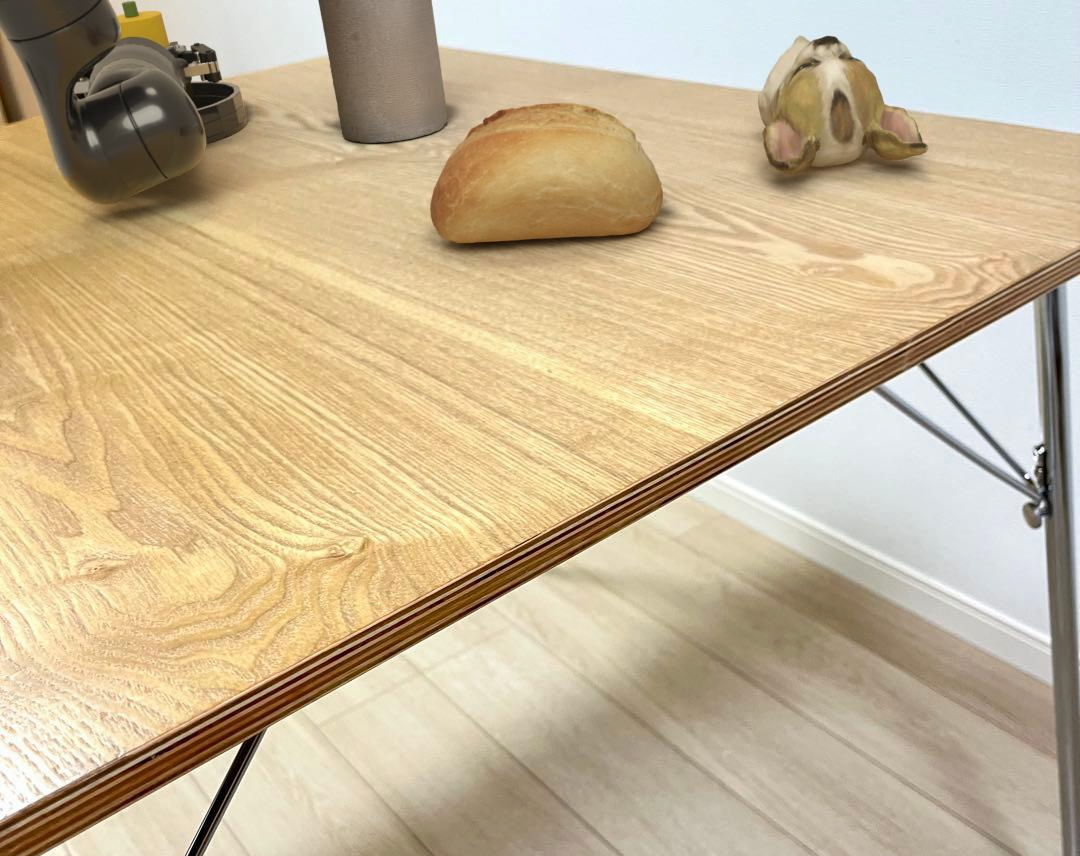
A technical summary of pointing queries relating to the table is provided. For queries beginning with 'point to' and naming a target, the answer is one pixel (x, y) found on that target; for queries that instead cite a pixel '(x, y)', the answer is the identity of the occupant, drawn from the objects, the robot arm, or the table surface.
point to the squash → (142, 24)
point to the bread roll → (546, 178)
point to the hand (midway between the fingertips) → (145, 58)
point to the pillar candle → (384, 68)
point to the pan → (218, 108)
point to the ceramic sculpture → (829, 110)
